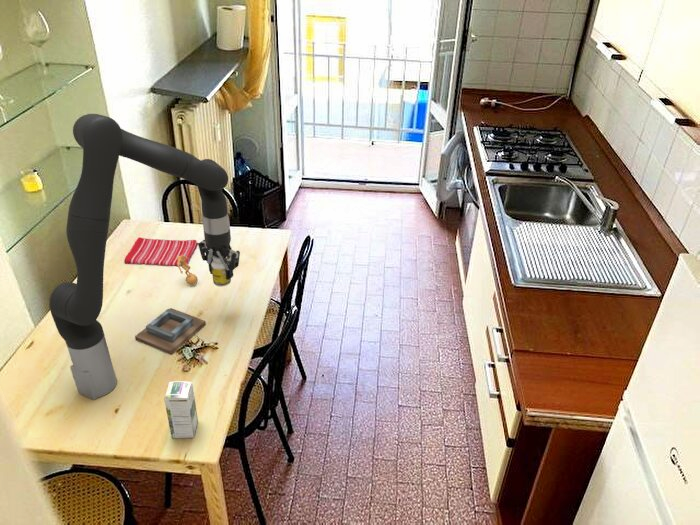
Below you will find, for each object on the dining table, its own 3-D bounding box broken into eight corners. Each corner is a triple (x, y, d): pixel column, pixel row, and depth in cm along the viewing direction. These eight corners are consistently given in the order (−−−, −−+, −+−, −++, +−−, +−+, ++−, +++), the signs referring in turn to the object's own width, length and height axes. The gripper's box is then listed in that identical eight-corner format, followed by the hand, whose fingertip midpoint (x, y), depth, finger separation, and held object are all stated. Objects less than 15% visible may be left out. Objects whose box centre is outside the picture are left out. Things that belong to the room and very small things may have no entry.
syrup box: (176, 421, 147) (167, 380, 139) (199, 420, 147) (192, 380, 139) (171, 438, 142) (162, 398, 134) (195, 438, 143) (187, 397, 135)
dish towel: (139, 241, 222) (138, 235, 220) (199, 244, 222) (198, 238, 220) (123, 265, 208) (121, 259, 206) (187, 268, 207) (186, 262, 206)
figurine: (194, 291, 194) (189, 262, 188) (177, 290, 195) (172, 261, 188) (201, 278, 201) (197, 249, 195) (185, 276, 202) (180, 248, 195)
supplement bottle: (209, 282, 175) (206, 255, 170) (224, 275, 178) (221, 248, 173) (220, 289, 172) (217, 262, 167) (234, 282, 175) (232, 255, 170)
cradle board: (171, 354, 168) (169, 344, 166) (135, 340, 173) (133, 329, 171) (205, 324, 180) (204, 314, 178) (171, 311, 185) (169, 301, 183)
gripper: (188, 226, 164) (194, 275, 173) (228, 239, 159) (233, 288, 168) (205, 216, 170) (210, 263, 179) (244, 228, 165) (248, 276, 174)
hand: (221, 275), depth 174 cm, fingers closed on supplement bottle, 5 cm apart
